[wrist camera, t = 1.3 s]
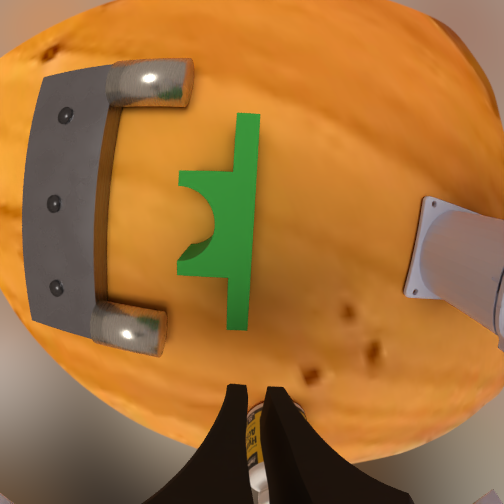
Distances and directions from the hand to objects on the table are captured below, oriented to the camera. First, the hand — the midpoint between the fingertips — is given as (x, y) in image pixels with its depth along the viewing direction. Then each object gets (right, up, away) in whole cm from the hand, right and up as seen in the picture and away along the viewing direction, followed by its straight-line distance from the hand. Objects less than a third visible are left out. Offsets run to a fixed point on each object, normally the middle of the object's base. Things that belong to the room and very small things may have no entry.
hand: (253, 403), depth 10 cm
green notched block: (-2, +8, +8) cm, 12 cm away
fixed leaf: (-11, +9, +7) cm, 16 cm away
